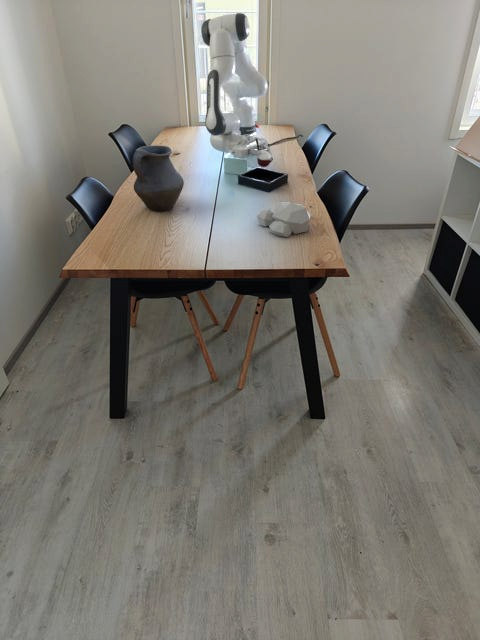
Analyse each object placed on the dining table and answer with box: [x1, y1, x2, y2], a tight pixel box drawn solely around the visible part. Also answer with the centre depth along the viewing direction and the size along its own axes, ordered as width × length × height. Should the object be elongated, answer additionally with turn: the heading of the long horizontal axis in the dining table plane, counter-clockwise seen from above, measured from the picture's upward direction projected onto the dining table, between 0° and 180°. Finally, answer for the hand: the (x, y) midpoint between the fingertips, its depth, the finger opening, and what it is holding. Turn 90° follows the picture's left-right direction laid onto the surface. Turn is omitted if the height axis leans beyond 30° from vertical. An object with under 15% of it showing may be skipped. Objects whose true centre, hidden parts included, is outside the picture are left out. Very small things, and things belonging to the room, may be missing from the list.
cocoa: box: [256, 138, 274, 168], centre depth 197 cm, size 10×6×12 cm, turn 92°
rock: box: [256, 200, 311, 238], centre depth 165 cm, size 18×20×10 cm
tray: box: [237, 166, 289, 193], centre depth 205 cm, size 16×18×4 cm
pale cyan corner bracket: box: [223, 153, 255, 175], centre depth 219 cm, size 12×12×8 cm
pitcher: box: [132, 145, 185, 212], centre depth 176 cm, size 21×22×25 cm
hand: (264, 150), depth 197 cm, fingers closed on cocoa, 5 cm apart
